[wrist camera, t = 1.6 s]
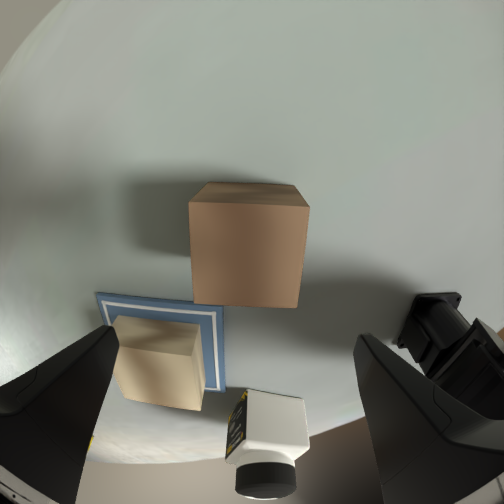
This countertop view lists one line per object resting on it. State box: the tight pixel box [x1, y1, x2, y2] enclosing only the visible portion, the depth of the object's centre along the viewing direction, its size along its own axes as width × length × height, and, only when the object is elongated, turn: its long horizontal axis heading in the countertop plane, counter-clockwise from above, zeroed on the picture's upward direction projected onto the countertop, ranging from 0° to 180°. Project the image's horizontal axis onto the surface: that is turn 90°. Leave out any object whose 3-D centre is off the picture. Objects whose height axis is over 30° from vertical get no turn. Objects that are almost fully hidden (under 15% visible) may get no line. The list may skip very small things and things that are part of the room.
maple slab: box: [111, 315, 206, 411], centre depth 23 cm, size 8×8×4 cm
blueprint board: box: [96, 292, 226, 393], centre depth 25 cm, size 12×12×1 cm
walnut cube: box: [188, 182, 310, 308], centre depth 17 cm, size 6×6×6 cm
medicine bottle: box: [225, 389, 310, 500], centre depth 24 cm, size 7×7×12 cm
